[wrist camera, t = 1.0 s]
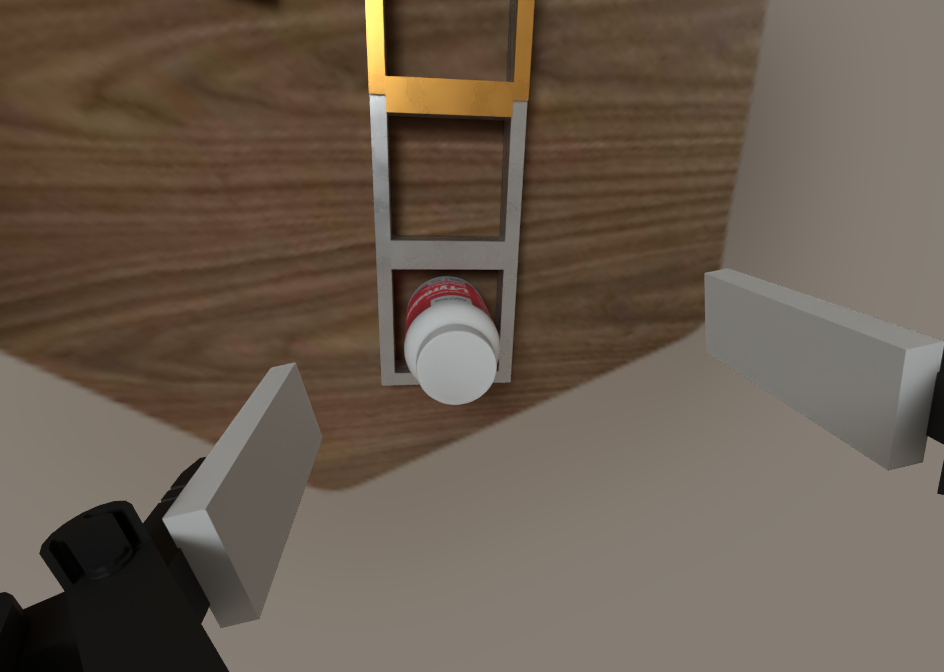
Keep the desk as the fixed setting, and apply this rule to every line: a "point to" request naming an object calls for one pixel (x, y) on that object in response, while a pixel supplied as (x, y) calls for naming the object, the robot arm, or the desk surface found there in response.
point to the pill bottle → (451, 341)
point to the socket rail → (510, 107)
